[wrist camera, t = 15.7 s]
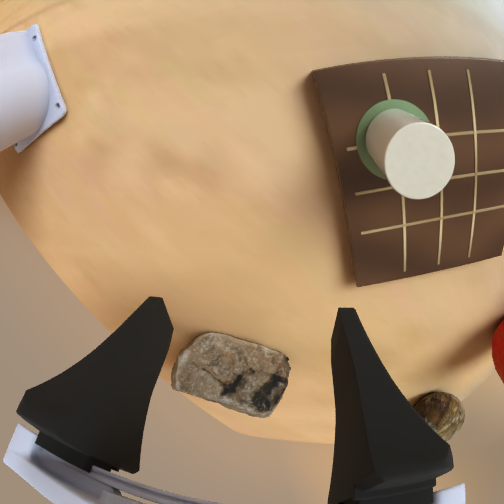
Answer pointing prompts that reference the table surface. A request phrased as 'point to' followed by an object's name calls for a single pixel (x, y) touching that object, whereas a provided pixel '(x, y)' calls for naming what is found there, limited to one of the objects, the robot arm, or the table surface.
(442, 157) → the white cylinder
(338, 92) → the game board
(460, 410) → the seashell
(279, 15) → the table surface
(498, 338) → the apple
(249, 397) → the stone
